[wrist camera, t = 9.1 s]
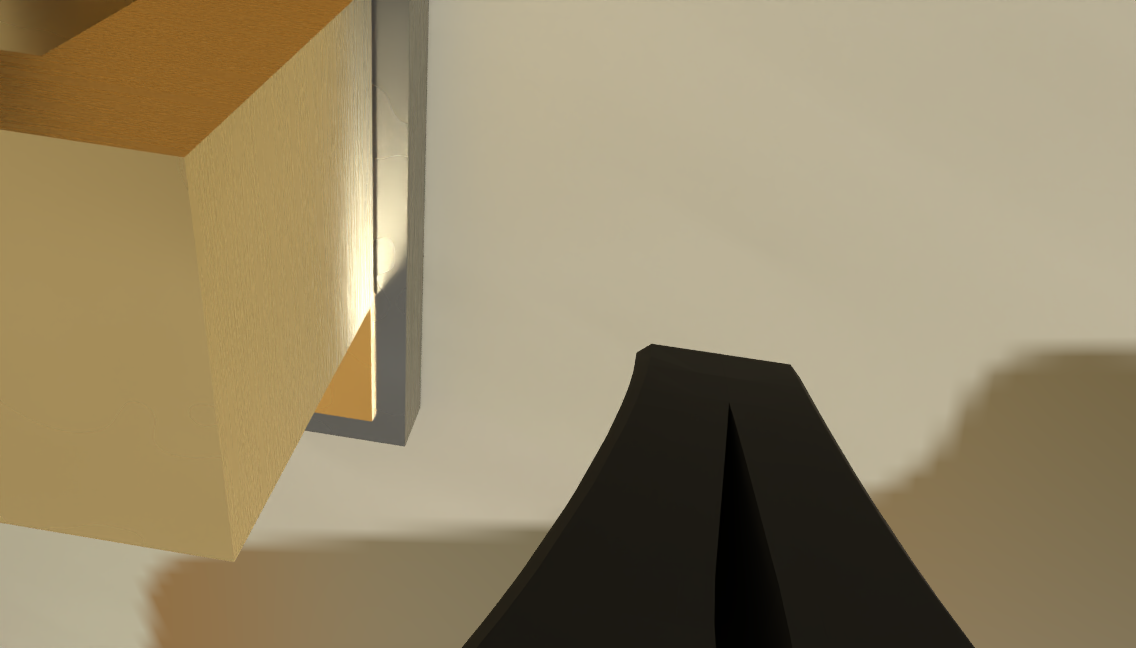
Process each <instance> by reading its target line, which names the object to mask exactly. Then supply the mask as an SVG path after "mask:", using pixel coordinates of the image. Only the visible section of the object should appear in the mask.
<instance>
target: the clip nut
mask: <svg viewBox="0 0 1136 648" xmlns="http://www.w3.org/2000/svg"><path fill="white" fill-rule="evenodd" d="M372 303H373V166H372V23H371V0H0V523H6V524H12V525H18V526H24V527H29V528H35V529H41V530H47V531H53V532H59V533H65V534H71V535H77V536H83V537H89V538H95V539H101V540H107V541H113V542H118V543H124V544H130V545H136V546H142V547H148V548H154V549H160V550H166V551H172V552H178V553H184V554H190V555H196V556H202V557H208V558H213V559H219V560H225V561H231V562H235V560H236V558H237V556H238V555H239V553H240V551H241V549H242V547H243V545H244V543H245V541H246V540H247V538H248V536H249V534H250V532H251V530H252V528H253V526H254V524H255V523H256V521H257V519H258V517H259V515H260V513H261V511H262V509H263V508H264V506H265V504H266V502H267V500H268V498H269V496H270V494H271V493H272V491H273V489H274V487H275V485H276V483H277V481H278V479H279V478H280V476H281V474H282V472H283V470H284V468H285V466H286V464H287V463H288V461H289V459H290V457H291V455H292V453H293V451H294V449H295V448H296V446H297V444H298V442H299V440H300V438H301V436H302V434H303V433H304V431H305V429H306V427H307V425H308V423H309V421H310V419H311V417H312V416H313V414H314V412H315V410H316V408H317V406H318V404H319V402H320V401H321V399H322V397H323V395H324V393H325V391H326V389H327V387H328V386H329V384H330V382H331V380H332V378H333V376H334V374H335V372H336V371H337V369H338V367H339V365H340V363H341V361H342V359H343V357H344V356H345V354H346V352H347V350H348V348H349V346H350V344H351V342H352V341H353V339H354V337H355V335H356V333H357V331H358V329H359V327H360V326H361V324H362V322H363V320H364V318H365V316H366V314H367V312H368V311H369V309H370V307H371V305H372Z"/></svg>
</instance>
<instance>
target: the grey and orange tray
mask: <svg viewBox="0 0 1136 648" xmlns="http://www.w3.org/2000/svg"><path fill="white" fill-rule="evenodd" d="M428 11H429V0H371V23H372V166H373V303H372V305H371V307H370V309H369V311H368V312H367V314H366V316H365V318H364V320H363V322H362V324H361V326H360V327H359V329H358V331H357V333H356V335H355V337H354V339H353V341H352V342H351V344H350V346H349V348H348V350H347V352H346V354H345V356H344V357H343V359H342V361H341V363H340V365H339V367H338V369H337V371H336V372H335V374H334V376H333V378H332V380H331V382H330V384H329V386H328V387H327V389H326V391H325V393H324V395H323V397H322V399H321V401H320V402H319V404H318V406H317V408H316V410H315V412H314V414H313V416H312V417H311V419H310V421H309V423H308V425H307V427H306V429H305V431H311V432H318V433H324V434H330V435H336V436H343V437H349V438H355V439H362V440H368V441H374V442H380V443H387V444H393V445H399V446H405V445H406V442H407V440H408V437H409V435H410V432H411V429H412V427H413V424H414V422H415V419H416V417H417V414H418V412H419V409H420V388H421V341H422V294H423V247H424V200H425V152H426V105H427V58H428Z"/></svg>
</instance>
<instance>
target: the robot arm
mask: <svg viewBox="0 0 1136 648" xmlns="http://www.w3.org/2000/svg"><path fill="white" fill-rule="evenodd" d="M462 648H975V647H974V646H973V645H972V643H971V642H970V641H969V639H968V638H967V637H966V635H965V634H964V633H963V631H962V630H961V628H960V627H959V626H958V624H957V623H956V622H955V620H954V619H953V618H952V616H951V615H950V614H949V612H948V611H947V610H946V608H945V607H944V606H943V604H942V603H941V602H940V600H939V599H938V598H937V596H936V595H935V593H934V592H933V590H932V589H931V588H930V586H929V585H928V583H927V582H926V581H925V579H924V578H923V576H922V575H921V573H920V572H919V570H918V569H917V568H916V566H915V565H914V563H913V562H912V561H911V559H910V557H909V556H908V554H907V553H906V551H905V550H904V548H903V547H902V545H901V544H900V542H899V541H898V539H897V538H896V536H895V534H894V533H893V531H892V530H891V528H890V527H889V525H888V524H887V522H886V521H885V519H884V518H883V516H882V515H881V513H880V512H879V510H878V509H877V507H876V506H875V504H874V503H873V501H872V500H871V498H870V496H869V495H868V493H867V492H866V490H865V488H864V487H863V485H862V484H861V482H860V480H859V479H858V477H857V476H856V474H855V472H854V471H853V469H852V467H851V466H850V464H849V462H848V461H847V459H846V457H845V456H844V454H843V452H842V451H841V449H840V447H839V446H838V444H837V442H836V441H835V439H834V437H833V435H832V434H831V432H830V430H829V429H828V427H827V425H826V423H825V422H824V420H823V418H822V416H821V415H820V413H819V411H818V409H817V408H816V406H815V404H814V402H813V400H812V399H811V397H810V395H809V393H808V392H807V390H806V388H805V386H804V384H803V383H802V381H801V379H800V377H799V376H798V375H797V373H796V372H795V370H794V369H793V368H792V366H791V365H789V364H783V363H776V362H769V361H763V360H756V359H749V358H743V357H736V356H729V355H723V354H716V353H709V352H703V351H696V350H689V349H683V348H676V347H669V346H662V345H656V344H651V345H649V346H647V347H645V348H644V349H642V350H640V351H639V352H637V354H636V360H635V366H634V371H633V375H632V378H631V381H630V385H629V387H628V390H627V393H626V395H625V398H624V400H623V403H622V405H621V407H620V409H619V411H618V414H617V416H616V418H615V420H614V422H613V424H612V426H611V428H610V430H609V432H608V435H607V436H606V438H605V440H604V442H603V444H602V445H601V447H600V449H599V451H598V452H597V454H596V456H595V458H594V460H593V461H592V463H591V465H590V467H589V468H588V470H587V472H586V474H585V475H584V477H583V479H582V481H581V482H580V484H579V486H578V488H577V489H576V491H575V493H574V494H573V496H572V498H571V499H570V501H569V502H568V504H567V505H566V507H565V509H564V510H563V511H562V513H561V514H560V516H559V517H558V519H557V520H556V522H555V523H554V525H553V526H552V528H551V529H550V530H549V532H548V533H547V535H546V536H545V538H544V539H543V541H542V542H541V544H540V545H539V547H538V548H537V550H536V551H535V552H534V554H533V556H532V557H531V558H530V560H529V561H528V563H527V564H526V566H525V567H524V569H523V570H522V571H521V573H520V574H519V575H518V577H517V578H516V580H515V581H514V582H513V584H512V585H511V586H510V588H509V589H508V590H507V591H506V593H505V594H504V595H503V597H502V598H501V599H500V601H499V602H498V603H497V605H496V606H495V607H494V608H493V610H492V611H491V612H490V613H489V615H488V616H487V617H486V619H485V620H484V621H483V622H482V624H481V625H480V626H479V627H478V629H477V630H476V631H475V632H474V633H473V635H472V636H471V637H470V638H469V639H468V641H467V642H466V643H465V644H464V646H463V647H462Z"/></svg>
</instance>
